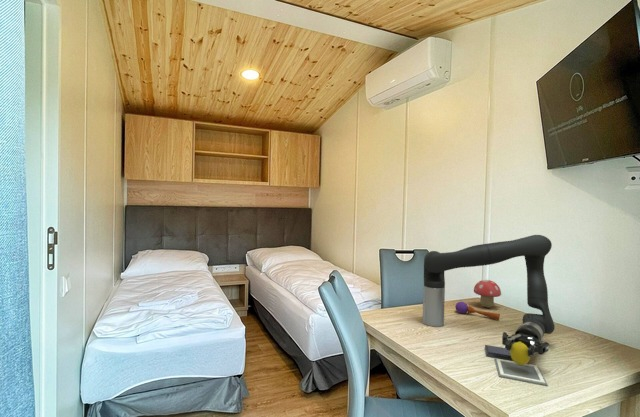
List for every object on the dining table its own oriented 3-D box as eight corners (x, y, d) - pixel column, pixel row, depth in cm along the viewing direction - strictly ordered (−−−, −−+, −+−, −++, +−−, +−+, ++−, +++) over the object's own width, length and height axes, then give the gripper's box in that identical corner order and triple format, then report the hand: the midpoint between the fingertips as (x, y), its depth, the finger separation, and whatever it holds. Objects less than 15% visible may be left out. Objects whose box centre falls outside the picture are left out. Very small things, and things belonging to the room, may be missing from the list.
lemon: (506, 362, 110) (506, 338, 110) (522, 361, 110) (522, 338, 110) (517, 370, 105) (517, 345, 104) (534, 369, 105) (534, 345, 105)
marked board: (499, 376, 104) (499, 374, 104) (494, 359, 116) (494, 357, 116) (547, 386, 99) (547, 383, 99) (538, 367, 111) (538, 365, 111)
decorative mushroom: (471, 302, 186) (471, 276, 186) (497, 305, 183) (497, 278, 183) (475, 310, 173) (476, 281, 173) (504, 312, 170) (504, 283, 170)
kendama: (498, 314, 155) (454, 303, 167) (497, 325, 156) (453, 313, 168) (500, 309, 160) (457, 298, 171) (499, 320, 161) (456, 308, 173)
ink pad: (486, 356, 118) (486, 352, 118) (484, 347, 126) (484, 344, 126) (518, 362, 114) (518, 357, 114) (514, 352, 122) (514, 348, 122)
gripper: (507, 319, 123) (494, 332, 110) (553, 330, 113) (545, 345, 101) (506, 339, 123) (493, 354, 110) (553, 351, 113) (544, 369, 101)
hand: (518, 350), depth 106 cm, fingers closed on lemon, 5 cm apart
